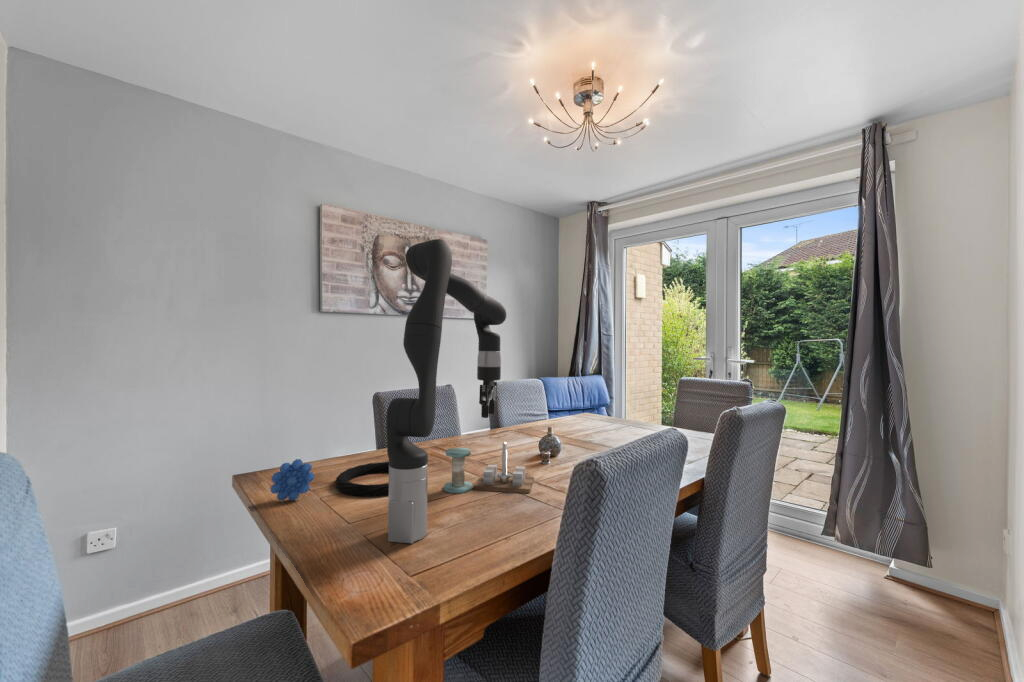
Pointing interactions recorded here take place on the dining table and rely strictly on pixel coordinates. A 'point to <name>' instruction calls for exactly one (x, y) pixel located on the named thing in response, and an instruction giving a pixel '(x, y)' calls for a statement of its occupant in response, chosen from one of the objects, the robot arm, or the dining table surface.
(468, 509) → the dining table surface
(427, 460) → the robot arm
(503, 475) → the screw
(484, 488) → the notch board
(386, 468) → the cable lock
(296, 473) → the blue flower
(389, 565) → the dining table surface
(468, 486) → the bobbin
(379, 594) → the dining table surface
